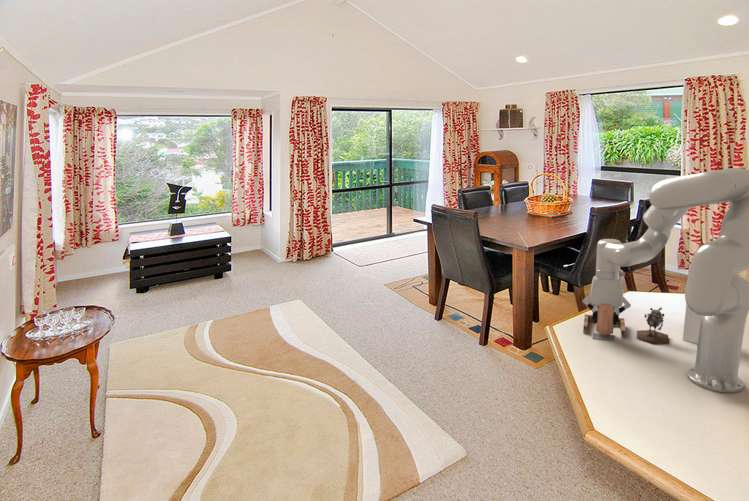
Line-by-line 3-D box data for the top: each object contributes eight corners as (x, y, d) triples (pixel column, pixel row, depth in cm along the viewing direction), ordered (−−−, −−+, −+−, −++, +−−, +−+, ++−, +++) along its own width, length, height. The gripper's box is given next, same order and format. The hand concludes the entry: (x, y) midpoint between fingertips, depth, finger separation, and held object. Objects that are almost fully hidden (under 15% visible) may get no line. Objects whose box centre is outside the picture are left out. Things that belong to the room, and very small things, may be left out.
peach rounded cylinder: (613, 329, 155) (614, 300, 152) (613, 337, 148) (615, 308, 146) (596, 327, 157) (597, 299, 155) (595, 335, 151) (597, 306, 148)
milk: (703, 345, 143) (710, 283, 138) (681, 339, 148) (688, 279, 142) (709, 339, 146) (717, 278, 141) (688, 334, 151) (695, 275, 146)
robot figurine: (628, 336, 153) (630, 304, 150) (643, 329, 157) (645, 298, 154) (661, 347, 143) (664, 313, 141) (676, 340, 148) (679, 307, 145)
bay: (625, 338, 151) (625, 331, 150) (583, 333, 157) (583, 326, 157) (623, 325, 162) (624, 318, 161) (584, 321, 168) (584, 314, 167)
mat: (615, 341, 149) (615, 340, 149) (592, 338, 153) (592, 338, 153) (614, 335, 154) (614, 335, 154) (592, 333, 157) (592, 332, 157)
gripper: (635, 273, 148) (632, 321, 152) (581, 269, 156) (579, 316, 160) (637, 279, 142) (633, 330, 146) (580, 275, 150) (578, 323, 154)
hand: (605, 322), depth 153 cm, fingers closed on peach rounded cylinder, 5 cm apart
